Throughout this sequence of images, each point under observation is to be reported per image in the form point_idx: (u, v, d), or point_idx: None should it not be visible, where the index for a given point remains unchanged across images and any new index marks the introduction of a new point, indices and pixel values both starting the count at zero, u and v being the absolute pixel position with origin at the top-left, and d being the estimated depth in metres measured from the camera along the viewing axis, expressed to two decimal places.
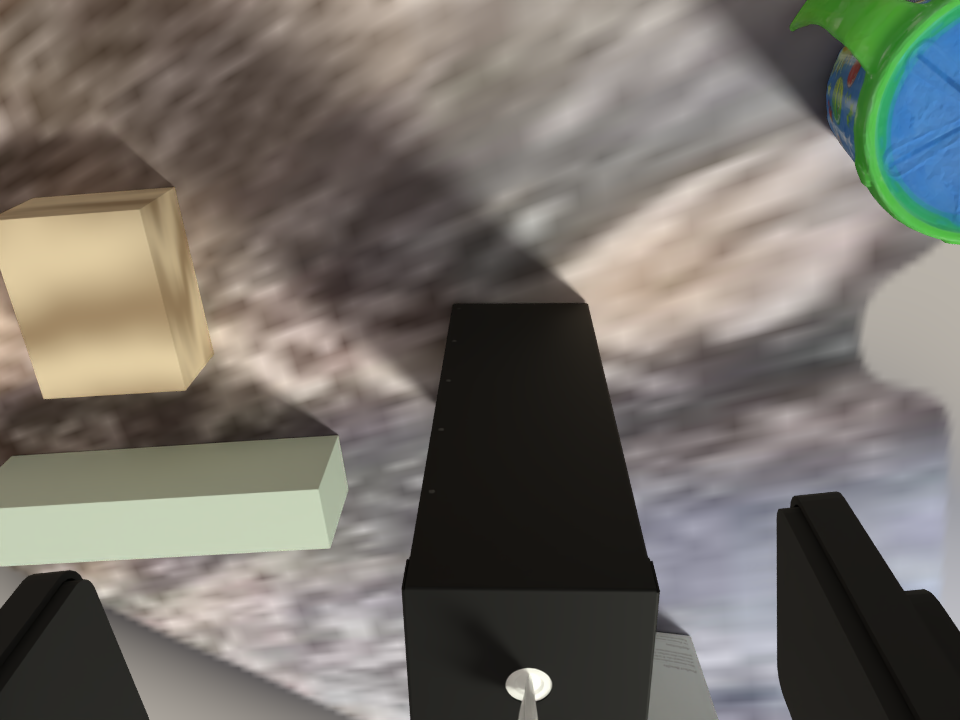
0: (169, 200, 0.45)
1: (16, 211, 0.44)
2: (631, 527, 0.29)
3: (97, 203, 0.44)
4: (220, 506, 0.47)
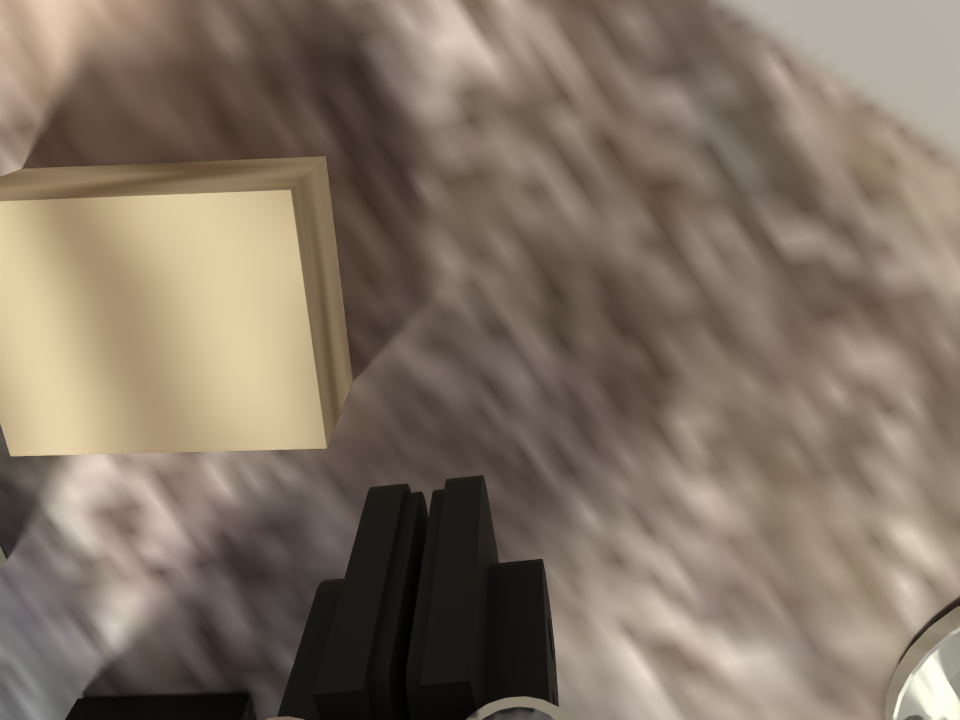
0: None
1: (308, 202, 0.25)
2: None
3: (328, 329, 0.27)
4: None
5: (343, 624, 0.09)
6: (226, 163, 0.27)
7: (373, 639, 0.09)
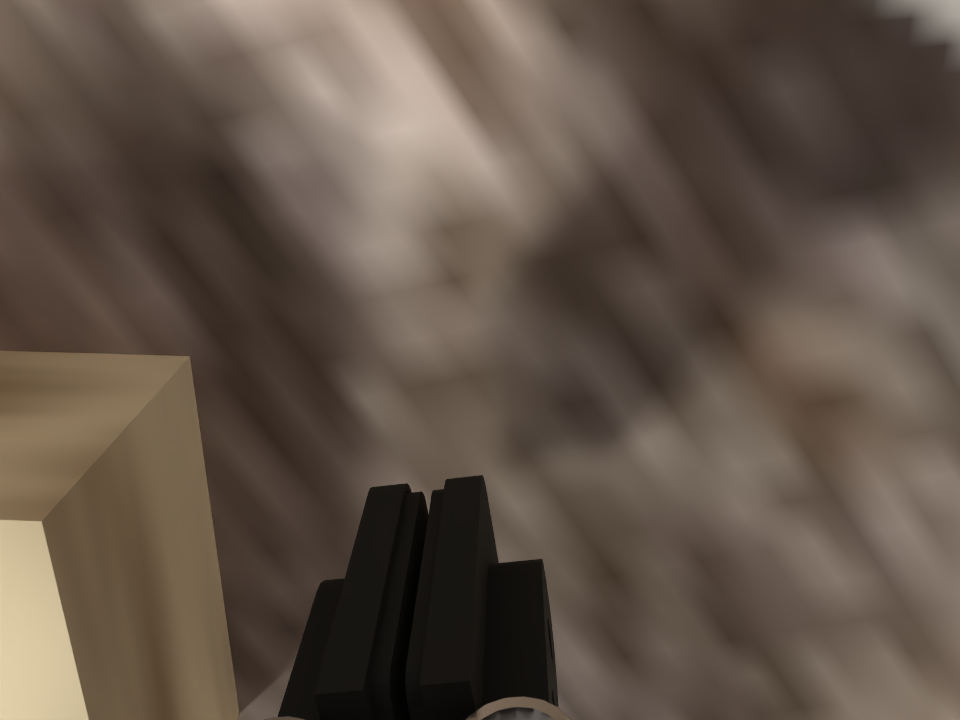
0: None
1: (116, 496, 0.12)
2: None
3: (169, 699, 0.14)
4: None
5: (343, 624, 0.09)
6: None
7: (374, 638, 0.09)
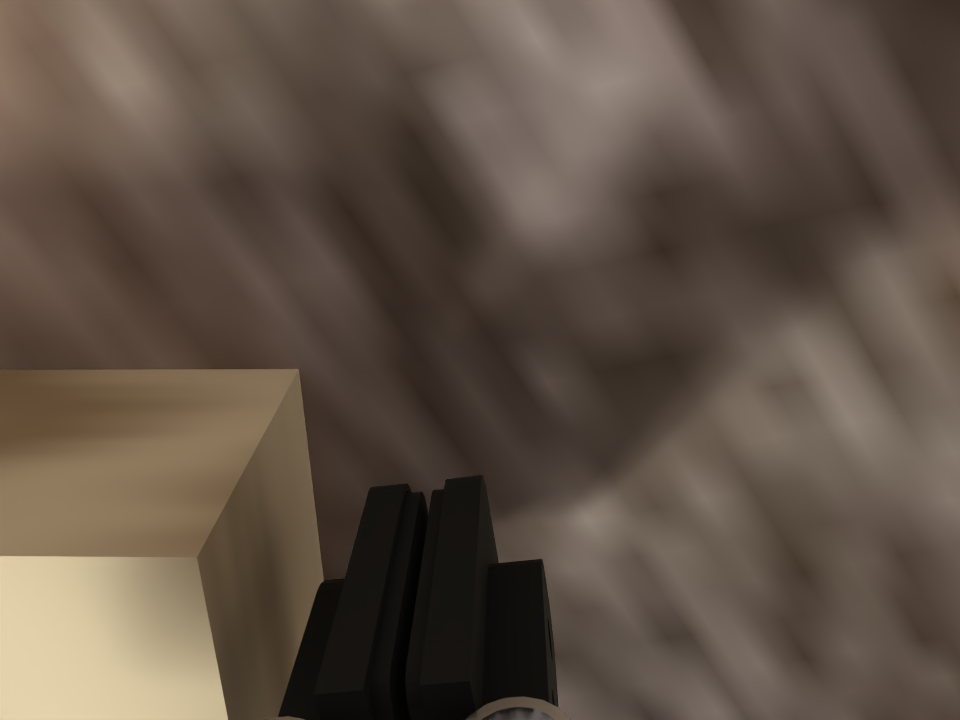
0: None
1: (251, 522, 0.11)
2: None
3: None
4: None
5: (344, 624, 0.09)
6: (91, 382, 0.13)
7: (374, 639, 0.09)
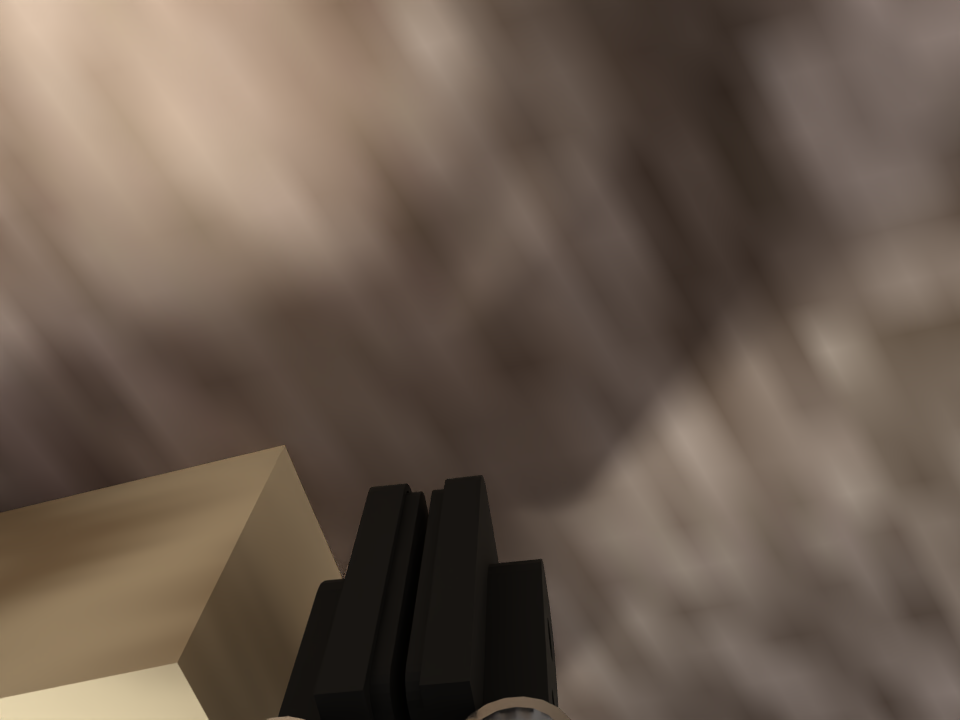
0: None
1: (246, 611, 0.11)
2: None
3: None
4: None
5: (344, 624, 0.09)
6: (99, 505, 0.14)
7: (373, 638, 0.09)
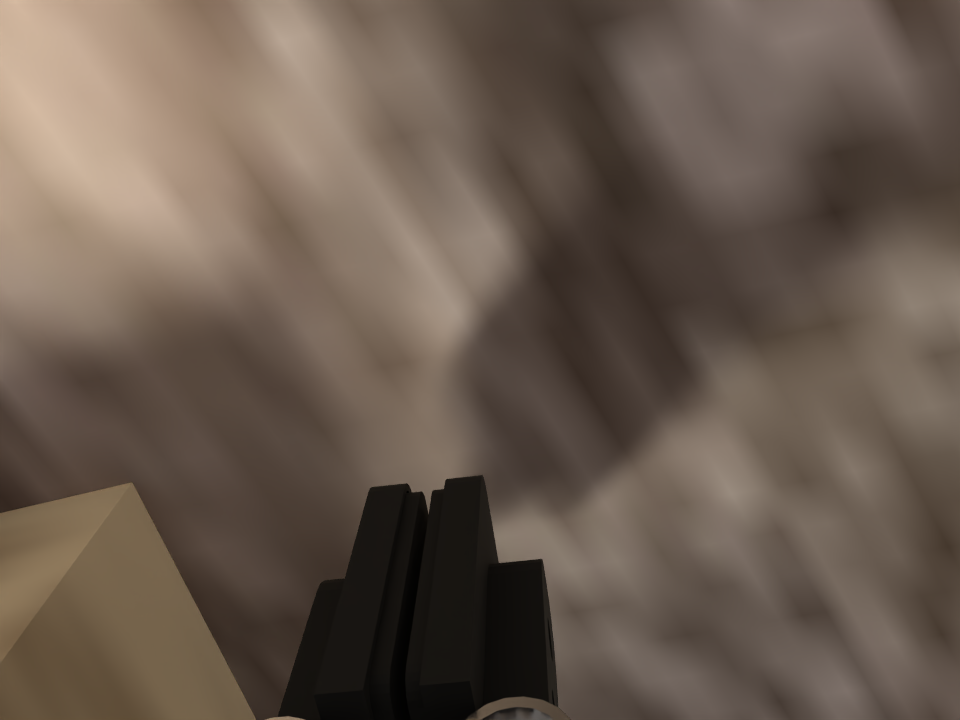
0: None
1: (64, 652, 0.11)
2: None
3: None
4: None
5: (343, 624, 0.09)
6: None
7: (374, 638, 0.09)
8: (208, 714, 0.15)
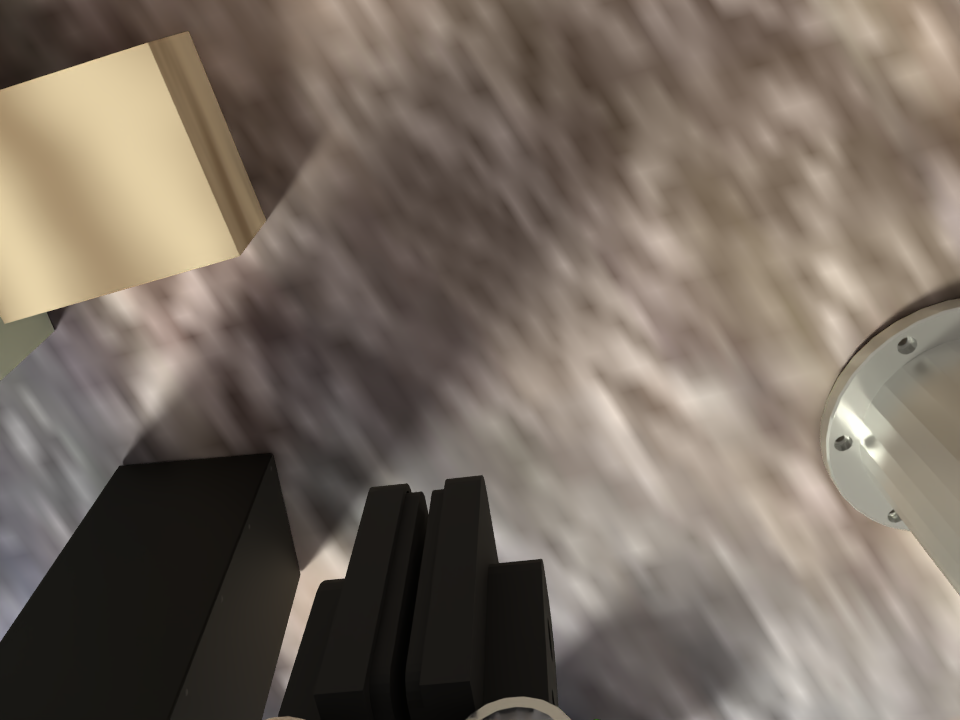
0: None
1: (172, 59, 0.31)
2: None
3: (221, 165, 0.33)
4: None
5: (343, 624, 0.09)
6: None
7: (374, 638, 0.09)
8: (223, 138, 0.34)
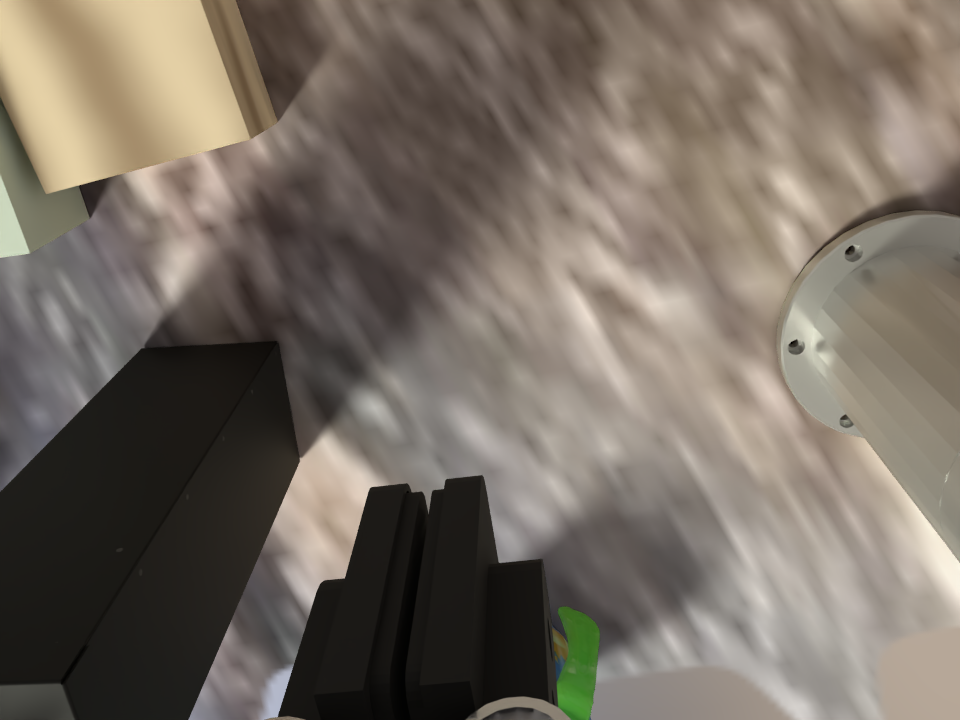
0: None
1: None
2: None
3: (239, 62, 0.38)
4: None
5: (343, 624, 0.09)
6: None
7: (373, 638, 0.09)
8: (242, 42, 0.39)
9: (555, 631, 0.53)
